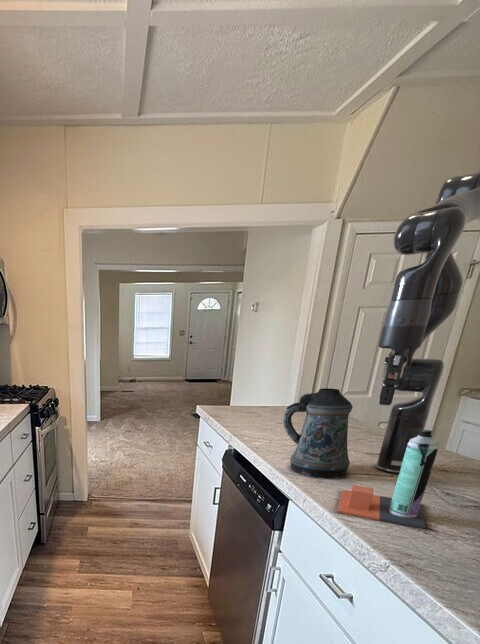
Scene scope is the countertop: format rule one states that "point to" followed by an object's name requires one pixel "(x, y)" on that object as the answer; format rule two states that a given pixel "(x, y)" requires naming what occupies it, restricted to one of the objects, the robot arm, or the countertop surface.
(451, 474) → the countertop surface
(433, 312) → the robot arm
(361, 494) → the terracotta block
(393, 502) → the spray can
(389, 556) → the countertop surface
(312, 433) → the beer stein
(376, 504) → the sorting mat
